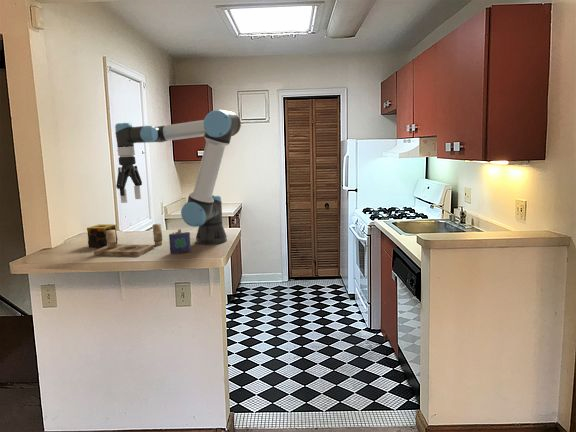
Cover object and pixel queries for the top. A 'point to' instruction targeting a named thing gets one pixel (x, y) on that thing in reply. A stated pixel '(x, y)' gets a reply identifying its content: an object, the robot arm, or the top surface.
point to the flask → (179, 242)
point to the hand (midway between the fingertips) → (131, 200)
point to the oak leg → (157, 234)
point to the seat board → (121, 247)
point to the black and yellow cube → (99, 235)
